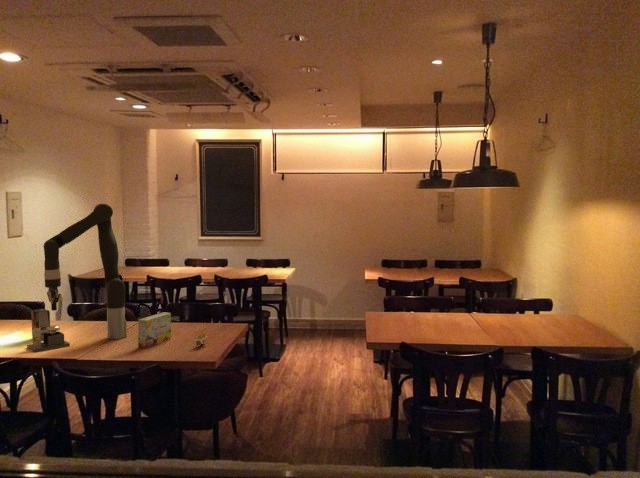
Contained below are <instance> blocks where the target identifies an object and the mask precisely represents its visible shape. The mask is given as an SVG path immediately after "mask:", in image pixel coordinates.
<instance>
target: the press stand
mask: <svg viewBox="0 0 640 478" xmlns="http://www.w3.org/2000/svg"><path fill="white" fill-rule="evenodd" d="M35 331H41V328H34V329H33V339H32V343H30V344H27V345H26V349H28V350H30V351H31V350H32V351H31V352H33V353H34V352H35V353H40V352H44V351H45V350H46V351H50V350H57V349H60V348H68V347H70V346H71V343H70V342H68V341H67V340H65V333H63V332H62V331H60V330H59V331H56V334H54V335H51V332H50V333H45V334H43V341H41V333H35ZM35 338H40V340H37V341H36V340H35ZM56 348H57V349H56Z"/></svg>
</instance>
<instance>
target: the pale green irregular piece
mask: <svg viewBox="0 0 640 478" xmlns="http://www.w3.org/2000/svg"><path fill="white" fill-rule="evenodd" d="M207 338H208V335H206V332H204V333H200V334H198V335H197V337H196V338H194V339H193V341H194V342H196V343H195V344H196V346H198V345H200V344H202V343H203V344H206V339H207ZM196 346H195V347H196Z"/></svg>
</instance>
